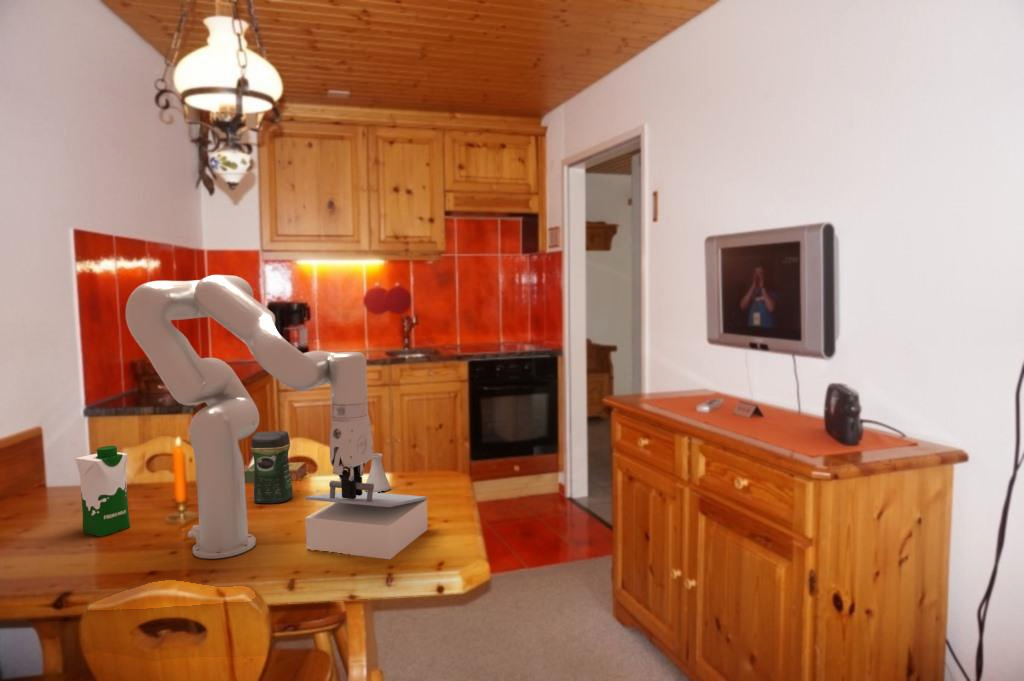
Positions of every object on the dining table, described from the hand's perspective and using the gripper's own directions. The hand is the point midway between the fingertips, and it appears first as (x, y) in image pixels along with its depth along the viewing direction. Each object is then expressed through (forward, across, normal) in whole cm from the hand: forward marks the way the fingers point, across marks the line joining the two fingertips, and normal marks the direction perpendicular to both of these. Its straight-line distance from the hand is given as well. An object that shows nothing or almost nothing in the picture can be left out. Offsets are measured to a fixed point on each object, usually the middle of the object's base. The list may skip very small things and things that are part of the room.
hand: (352, 495), depth 143 cm
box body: (+12, +6, 0) cm, 13 cm away
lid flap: (+3, +7, 0) cm, 7 cm away
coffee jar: (+12, +24, +40) cm, 49 cm away
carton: (+13, +42, +54) cm, 70 cm away
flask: (+12, +40, +18) cm, 45 cm away
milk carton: (+12, -6, +64) cm, 65 cm away
